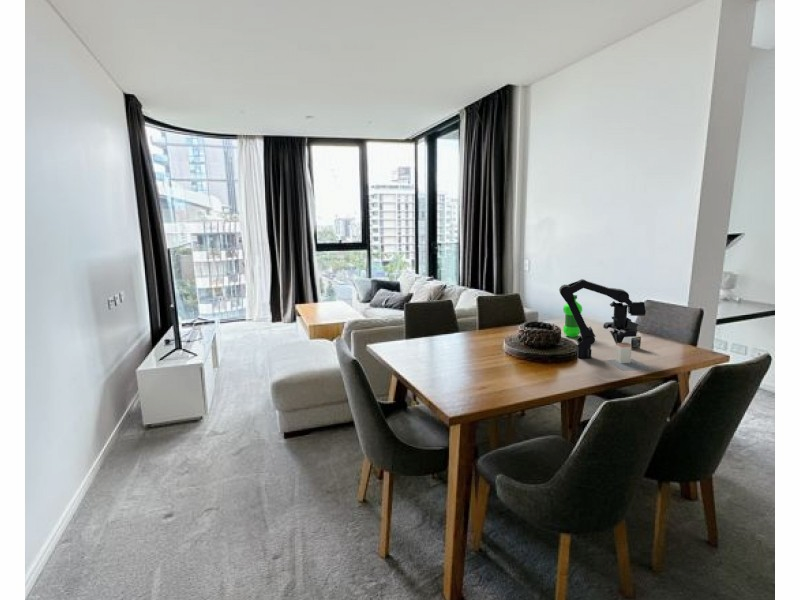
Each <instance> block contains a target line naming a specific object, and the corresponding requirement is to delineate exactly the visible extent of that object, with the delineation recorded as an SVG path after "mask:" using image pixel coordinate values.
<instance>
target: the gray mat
mask: <svg viewBox="0 0 800 600" xmlns="http://www.w3.org/2000/svg"><path fill="white" fill-rule="evenodd" d="M605 361H606V362H607V363H608V364H610V365H612V366H614V367H616V368H617V369H620V370H621V371H638V370H642V371H643V370H653V369H652V368H651V367H650V366H648V365H646V364H644V363H642V362H640V361H638V360H636V359H634V358H631V362H630V363H619V362H617V361H616V358H615V359H605Z"/></svg>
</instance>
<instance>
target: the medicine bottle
mask: <svg viewBox="0 0 800 600" xmlns="http://www.w3.org/2000/svg"><path fill="white" fill-rule="evenodd" d="M638 328H639V327H637V329H636V330H635V331H636V332H637V333H638ZM629 329H632V328H629ZM632 330H634V329H632ZM625 342H627V343H629V344H631V345H632V347H631V350H635V349H639V348H640V349H641V342H642V335H639V334H637V336H636V337H624V339H623V341H622V343H625Z"/></svg>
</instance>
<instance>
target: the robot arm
mask: <svg viewBox="0 0 800 600" xmlns="http://www.w3.org/2000/svg"><path fill="white" fill-rule="evenodd" d="M583 289H584V290H585V289H586V290H589V291H592V292H595V293H598V294H601V295H604V296H607V297H609V298H610V299H612V300H613V301H612V302H611V303H609V306H610V307H611V308H612V307H613V316H611V319H612V321H609V322H604V323H603V325H602V326H603V329H605V330H608V329H611V330H609V333H610V335H611V336H612V338H613V341H614V343H615V345H616V346H617V343H622V341H623V339H624V337H636V336H637V335H638V331H637V332H636V331H635V330H636V329H637V328H639V323H637V322H634V321H632V319H630V318H629V317H628V314H629V315H630V316H631V317H633V316H634V317H645V315H646V313H647V310H646V306H645V301H633V300H631V299H630V295H629V292H627V291H626V290H624V289H621V288H613V287H608V286H605V285H601V284H598V283H594V282H593V281H588V280H586V279H582V278H581V279H579V280H577V281H575V282H571V283H569V284H562V285H560V287H559V290H558V291H559V294H560V295H561V297H562V299H564V301H565V303H566V304H568V305H569V308H570V310H571V312H572V314H573V316H574V318H575V320H576V322H577V325H578V327H579V331H580V333H579V335H580V336H579V337H578V338H576V343H577V345H575V351H576V350H577V357H576V358H577V359H579V360H590V359H592V347H591V346H592V345H593V344H594V343H595V342H596V334H595V333H594V330H593V329H592V327H591V326H587V324H586V322H585V320H584V318H583V315H582V312H581V313H580V311H579V309H578V307H577V305H576V303H575V299H574V295H575V293H577V292H579V291H581V290H583ZM623 303H624V304H623ZM629 328H632V329H634V330H632V329H629Z"/></svg>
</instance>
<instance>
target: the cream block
mask: <svg viewBox="0 0 800 600" xmlns="http://www.w3.org/2000/svg"><path fill="white" fill-rule="evenodd" d="M631 347H632V345H631V344H629V343H627V342H625V343H617V345H616V347H615V348H616V349H615V359H616V361H617V362H619V363H630V362H631V359H632V349H631Z"/></svg>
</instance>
